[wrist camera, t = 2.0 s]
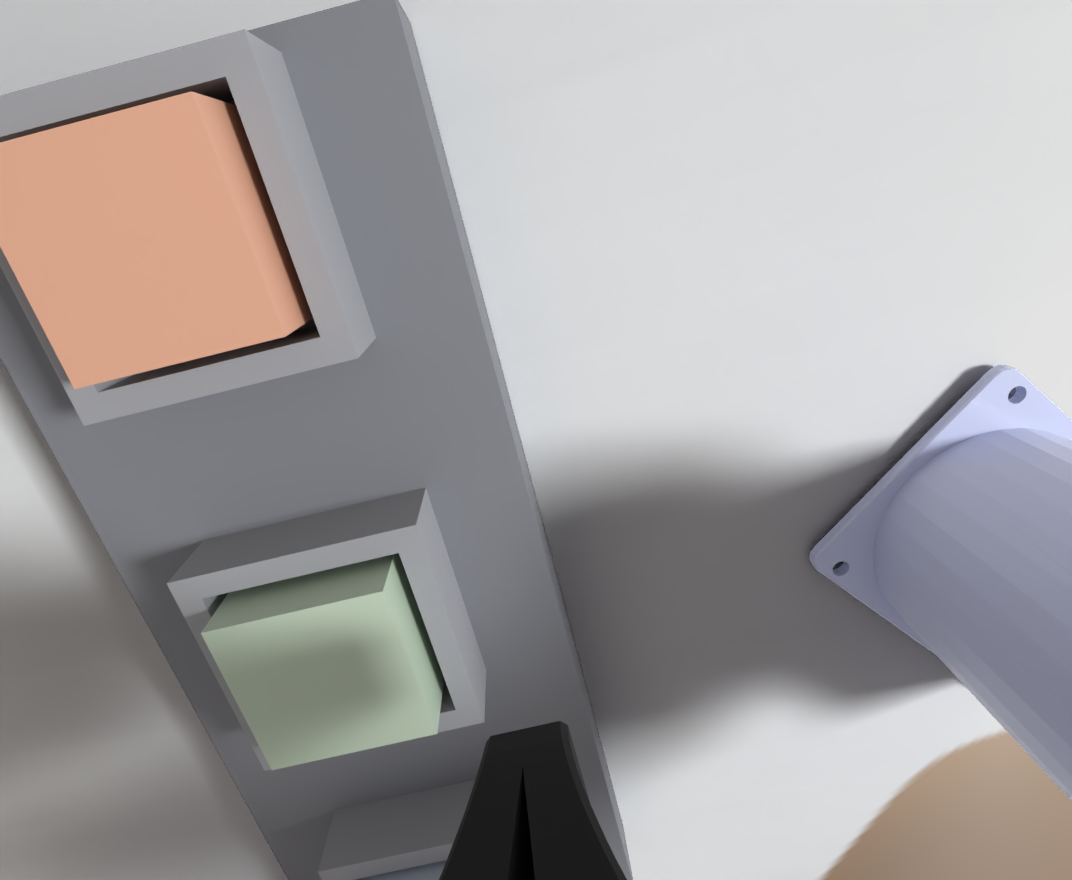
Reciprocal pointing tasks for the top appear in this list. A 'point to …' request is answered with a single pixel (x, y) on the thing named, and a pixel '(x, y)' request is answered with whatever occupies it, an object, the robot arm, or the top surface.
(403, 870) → the slate button
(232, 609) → the sage button
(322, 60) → the button panel
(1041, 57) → the top surface
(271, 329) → the terracotta button
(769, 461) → the top surface
